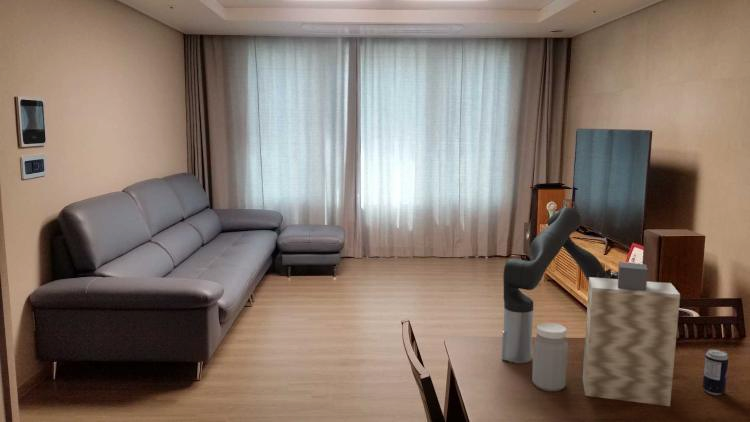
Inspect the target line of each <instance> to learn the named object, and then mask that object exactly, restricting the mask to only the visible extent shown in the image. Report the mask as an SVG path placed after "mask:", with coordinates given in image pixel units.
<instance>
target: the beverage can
mask: <svg viewBox="0 0 750 422" xmlns="http://www.w3.org/2000/svg"><path fill="white" fill-rule="evenodd" d="M728 366H729V356H728V353H727V352H726V351H723V350H721V349H715V348H712V349H711V348H710V349H707V351H706V353H705V358H704V366H703V378H702V385H701V386H702V388H703V389H704V391H705V392H706V393H708V394H710V395H715V396H720V395H722V394H724V393H725V392H726V387H727V386H726V385H727V375H728Z"/></svg>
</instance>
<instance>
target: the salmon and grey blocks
mask: <svg viewBox="0 0 750 422" xmlns="http://www.w3.org/2000/svg"><path fill="white" fill-rule="evenodd" d="M617 269H618V271H617V272H618V281H617V283H618V288H620V289H630V290H640V291H646V284H647V282H648V267H647V264H645V263H636V262H631V261H622V262H621V261H619V262H618V268H617Z"/></svg>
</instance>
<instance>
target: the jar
mask: <svg viewBox="0 0 750 422" xmlns="http://www.w3.org/2000/svg"><path fill="white" fill-rule="evenodd" d="M536 333H537V334H536V337H535V338H534V341H533V353H532V354H533V355H532V374H531V375H532V376H531V377H532V378H531V381H532V382H533V384H534V385H535V387H537V388H538V389H540V390H542V391H547V392H558V391H561V390H562V389H564V388H565V387H566V384H567V383H566V382H567V369H568V368H567V367H568V351H569V343H568V341H567V340H566V339H567V327H565V326H564V325H563V324H559V323H556V322H542V323H539V324H537V326H536Z"/></svg>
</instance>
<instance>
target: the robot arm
mask: <svg viewBox="0 0 750 422" xmlns="http://www.w3.org/2000/svg"><path fill="white" fill-rule="evenodd" d="M546 223H547V226H546V227H545V228H544V229H543V230H541V231H540V232H539V233H538V234H537V235H536V236H535V238H534V239H533V240H532V242H531V243H530V248H529V250H530V255H531V257H532V259H533V260H525V259H524V260H523V259H517V258H509V259H508V260H507V261H506V262H505V263H504V264H505V265H504V267H503V275H502V277H503V280H502V281H503V305H504V306H503V326H502V327H503V328H502V339H501V340H502V341H501V342H502V344H501V345H502V346H501V360H502V361H506V360H507V362H508V361H509V362H508V363H512V362H514V363H513V364H527V363H529V362H531V360H532V344H533V343H532V342H533V319H534V300H533V299H531V298H530V297H529V296H527V295H526V294H524V293H523V292H522V291H521V290H526V291H532V290H534V289H536V288H537V286H538V285H539V284H540V282H541V280H542V277H543V276H544V274H545V272H546V271H547V269H548V267H549V265H550V264H551V263H552V262H553V260H554V259H555V258H556V256H557V255H558V254H559V253H560V251H561V249H562V248H563V249H565V251H566V252H567V253H568V254H569V256H570V257H571V258H572V259H573V260H574V262H575V263H576V265H577V266H578V268H580V271H581V272H582V274H583V275H584V276H585V278H586V279H587V281H588V282H589V277H593V278H606V279H618V271H613V272H612V269H611V268H608V269H605V268H604V266H603V265H602V263H601V262H600V260H599V259H598V258H597V256H595V255H594V254H593V253H591V252H589V251H588V250H586V249H584V248H582V247H581V246H579V245H578V244H577V243H575V242H574V241H573V239H572V238H571V237H570V236H571V235H572V234H573V233H574V232H575V231H576V230H577V229H579V227H580V226H581V224H582V217H581V214H580V212H579V211H578V210H577V209H576V208H574V207H571V206H565V207H562V208H561V209H559V210H558V211H556V212H555V213H554V214H552V215H551V216H550V217H549V218H548V219H547V222H546Z"/></svg>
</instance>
